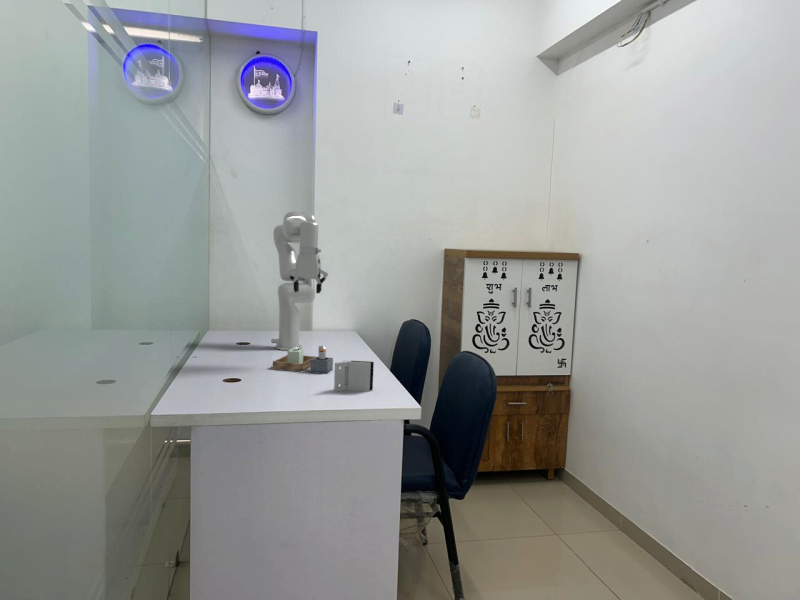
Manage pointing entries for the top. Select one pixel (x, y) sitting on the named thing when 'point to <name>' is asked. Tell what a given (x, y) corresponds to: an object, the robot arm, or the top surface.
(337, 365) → the hinge
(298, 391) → the top surface
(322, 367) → the block
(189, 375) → the top surface
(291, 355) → the pale green block
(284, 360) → the tray
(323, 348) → the cylinder
